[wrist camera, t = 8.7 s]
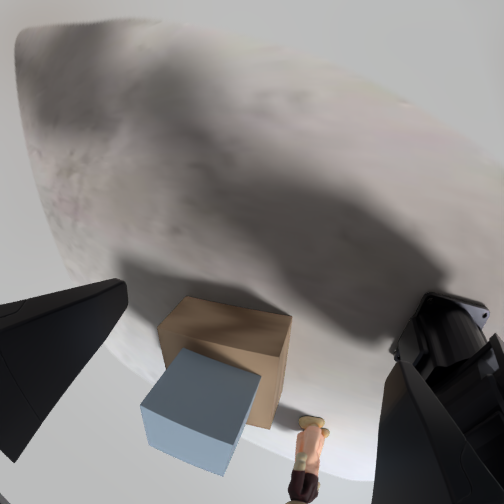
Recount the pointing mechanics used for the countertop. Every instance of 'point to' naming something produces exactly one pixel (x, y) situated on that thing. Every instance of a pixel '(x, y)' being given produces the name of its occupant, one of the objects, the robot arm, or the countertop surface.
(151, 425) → the slate-blue cube
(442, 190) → the countertop surface
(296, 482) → the grandmother figurine
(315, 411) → the countertop surface
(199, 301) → the tan flat block
